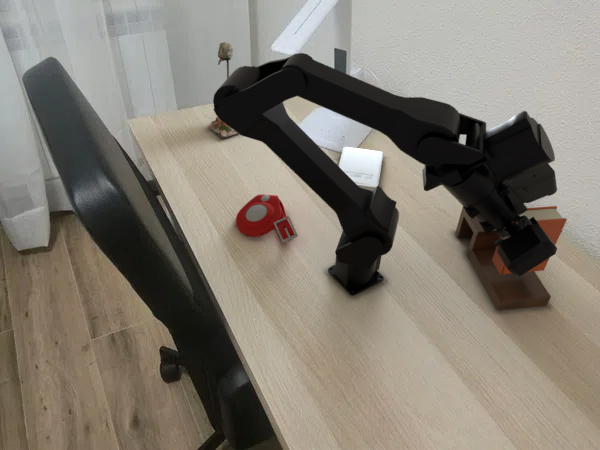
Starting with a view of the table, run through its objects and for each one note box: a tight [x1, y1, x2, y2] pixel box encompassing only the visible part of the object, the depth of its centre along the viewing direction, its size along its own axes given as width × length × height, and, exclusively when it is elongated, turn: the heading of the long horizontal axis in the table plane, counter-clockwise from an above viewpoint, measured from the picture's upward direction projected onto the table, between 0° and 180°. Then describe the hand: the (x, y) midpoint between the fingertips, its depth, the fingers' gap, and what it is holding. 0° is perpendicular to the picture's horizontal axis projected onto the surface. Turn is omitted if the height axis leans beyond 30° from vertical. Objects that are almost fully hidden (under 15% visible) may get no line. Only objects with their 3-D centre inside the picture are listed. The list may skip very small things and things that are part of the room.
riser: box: [454, 206, 552, 311], centre depth 87 cm, size 8×18×6 cm, turn 9°
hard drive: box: [338, 146, 384, 191], centre depth 108 cm, size 2×8×12 cm
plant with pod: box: [206, 41, 238, 138], centre depth 113 cm, size 8×11×20 cm
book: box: [492, 205, 567, 274], centre depth 80 cm, size 7×3×10 cm, turn 99°
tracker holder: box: [235, 194, 299, 244], centre depth 94 cm, size 12×4×10 cm
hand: (529, 242), depth 80 cm, fingers closed on book, 3 cm apart
